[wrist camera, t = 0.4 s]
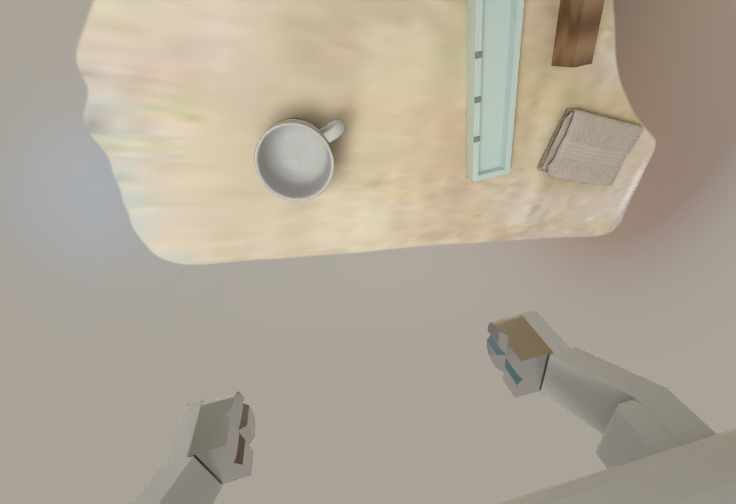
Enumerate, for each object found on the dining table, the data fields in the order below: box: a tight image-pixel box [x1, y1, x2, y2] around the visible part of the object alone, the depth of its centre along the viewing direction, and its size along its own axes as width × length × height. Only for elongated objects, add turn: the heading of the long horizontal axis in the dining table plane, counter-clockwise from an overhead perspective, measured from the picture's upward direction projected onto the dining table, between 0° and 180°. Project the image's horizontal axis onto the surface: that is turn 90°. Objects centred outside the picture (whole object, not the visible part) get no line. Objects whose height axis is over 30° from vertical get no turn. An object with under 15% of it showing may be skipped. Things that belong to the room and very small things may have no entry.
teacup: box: [254, 119, 346, 201], centre depth 48 cm, size 14×11×8 cm
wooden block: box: [552, 0, 604, 67], centre depth 47 cm, size 11×3×5 cm, turn 9°
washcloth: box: [538, 108, 643, 186], centre depth 61 cm, size 12×18×3 cm, turn 79°
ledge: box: [466, 0, 524, 182], centre depth 51 cm, size 27×8×3 cm, turn 10°
